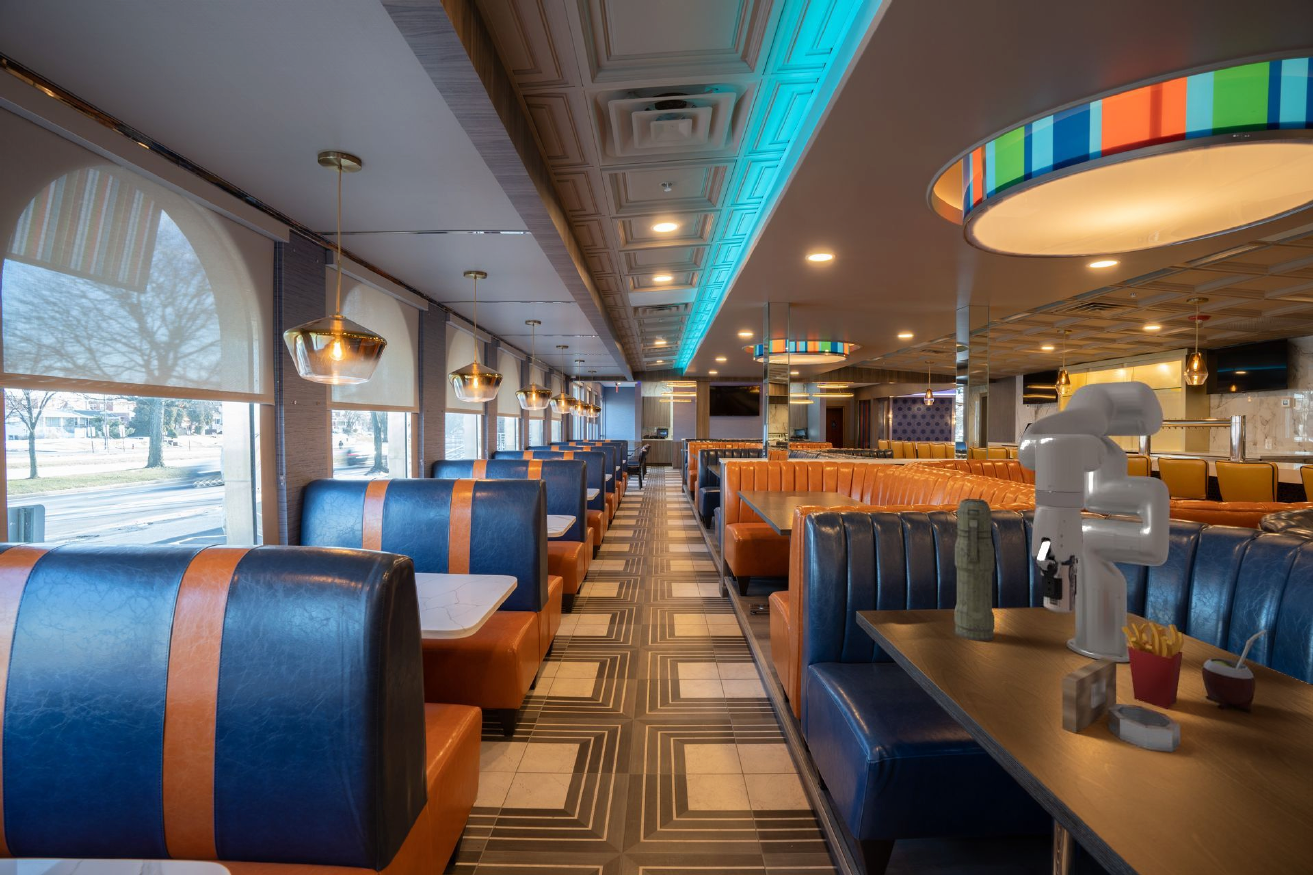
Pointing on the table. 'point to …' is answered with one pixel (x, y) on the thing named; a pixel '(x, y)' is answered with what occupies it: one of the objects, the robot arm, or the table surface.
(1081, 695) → the brown flat block
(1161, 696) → the french fries
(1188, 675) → the table surface
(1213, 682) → the mate gourd
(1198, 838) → the table surface
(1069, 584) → the beer can
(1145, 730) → the grey octagonal ring
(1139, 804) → the table surface
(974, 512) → the thermos
